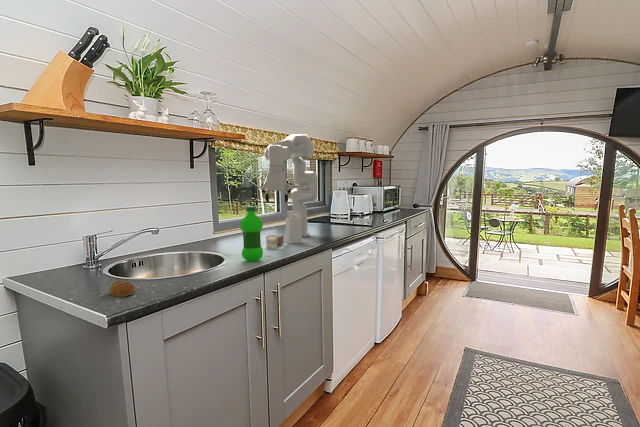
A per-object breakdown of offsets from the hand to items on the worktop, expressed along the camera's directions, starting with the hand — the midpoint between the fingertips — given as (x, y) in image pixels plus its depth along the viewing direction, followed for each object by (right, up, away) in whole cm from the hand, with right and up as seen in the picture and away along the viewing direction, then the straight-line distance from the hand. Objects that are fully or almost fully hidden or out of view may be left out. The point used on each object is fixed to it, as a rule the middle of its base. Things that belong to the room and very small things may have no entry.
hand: (276, 202), depth 179 cm
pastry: (-43, -33, -65) cm, 85 cm away
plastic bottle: (-8, -28, -22) cm, 36 cm away
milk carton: (+8, -24, +19) cm, 32 cm away
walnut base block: (-2, -25, +11) cm, 27 cm away
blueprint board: (-3, -25, +8) cm, 26 cm away
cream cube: (-3, -24, +3) cm, 25 cm away
